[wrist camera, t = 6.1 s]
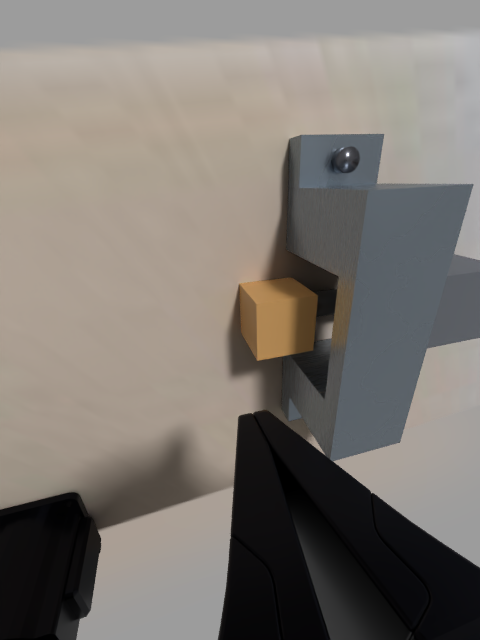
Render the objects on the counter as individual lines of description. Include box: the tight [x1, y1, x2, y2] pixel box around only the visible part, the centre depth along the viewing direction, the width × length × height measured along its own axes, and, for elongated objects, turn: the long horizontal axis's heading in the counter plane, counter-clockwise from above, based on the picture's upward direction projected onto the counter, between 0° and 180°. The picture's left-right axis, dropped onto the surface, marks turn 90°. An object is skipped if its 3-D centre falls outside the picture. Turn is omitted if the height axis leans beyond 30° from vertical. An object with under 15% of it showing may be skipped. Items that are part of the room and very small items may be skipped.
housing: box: [282, 134, 473, 461], centre depth 14 cm, size 4×16×6 cm, turn 2°
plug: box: [239, 254, 480, 361], centre depth 16 cm, size 13×4×4 cm, turn 92°
